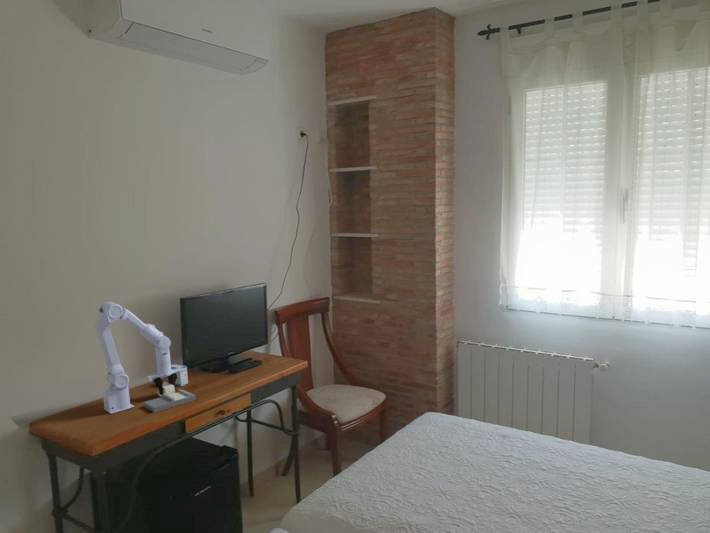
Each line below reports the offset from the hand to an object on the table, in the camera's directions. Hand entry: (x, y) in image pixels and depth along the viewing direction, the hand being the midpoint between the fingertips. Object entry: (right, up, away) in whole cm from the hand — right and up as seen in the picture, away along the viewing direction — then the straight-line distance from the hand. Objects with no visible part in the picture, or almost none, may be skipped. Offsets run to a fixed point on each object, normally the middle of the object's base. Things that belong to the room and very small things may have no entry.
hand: (166, 392), depth 234 cm
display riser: (+5, -2, -9) cm, 11 cm away
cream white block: (0, -1, 0) cm, 2 cm away
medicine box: (0, 0, +16) cm, 16 cm away
